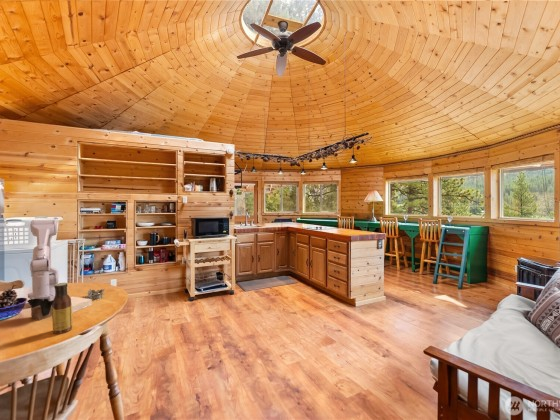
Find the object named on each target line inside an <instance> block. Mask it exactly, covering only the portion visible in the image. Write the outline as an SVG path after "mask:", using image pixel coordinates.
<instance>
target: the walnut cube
mask: <svg viewBox="0 0 560 420" xmlns="http://www.w3.org/2000/svg"><path fill="white" fill-rule="evenodd" d="M30 310H31V312H30V314H31V315H30V317H31V318H30V319H31V320H34V321H42V320H44V319H46V318H50V317H52V308H51V309H50V312H49V314H48V315H46V316H43V315H42V310H41V306H40V305H39V306H36V307H33V308H32V307H31V309H30Z"/></svg>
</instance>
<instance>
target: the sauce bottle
mask: <svg viewBox="0 0 560 420" xmlns="http://www.w3.org/2000/svg"><path fill="white" fill-rule="evenodd" d="M54 288H55V298H54V300H53V303H52V316H51V321H52V331H53V334H57V335H60V334H61V335H62V334H65V333H67V332H69V331H71V330H72V328H73V313H72V304H71V298H70V297H71V296H70V295H69V294H68V283H67V282H58V284H55V287H54Z"/></svg>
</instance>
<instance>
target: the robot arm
mask: <svg viewBox="0 0 560 420" xmlns="http://www.w3.org/2000/svg"><path fill="white" fill-rule="evenodd" d="M29 229H30V232H31V234H32V236H34V237H36V242H37V243H36V246H34V248H33V249H32V250H33V251H32V261H30V263H29V264H30V265H29V270H30V276H31V279H32V282H31V284H32V285H31V287H32V292H29V293H27V298H28V300H27V301H26V302H27V303H28V304H29V306H30V307H31V308H33V307H36V306H39V305H40V306H41V310H42V315H43V316H46V315H48V314H49V312H50V309H51V306H52V303H53V300H54V298H55V288H54V287H55V285H56V284H59V271H58V269H57V268H55V267H53V266H52V241H51V240H52V238H53V236H56V235H57V232H58V220H56V219H48V220H47V219H45V220H41V219H40V220H31V221H30V227H29Z"/></svg>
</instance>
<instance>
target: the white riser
mask: <svg viewBox="0 0 560 420" xmlns="http://www.w3.org/2000/svg"><path fill="white" fill-rule="evenodd" d="M70 298H71V304H72V314H73V313H75V312H78V311H80V310H83V309H85V308H88V307H90V306H92V305H93V302H92V301H93V300H92V299H88V298H87V297H85V298H84V297H79V296H70ZM51 308H52V306H51Z"/></svg>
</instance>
